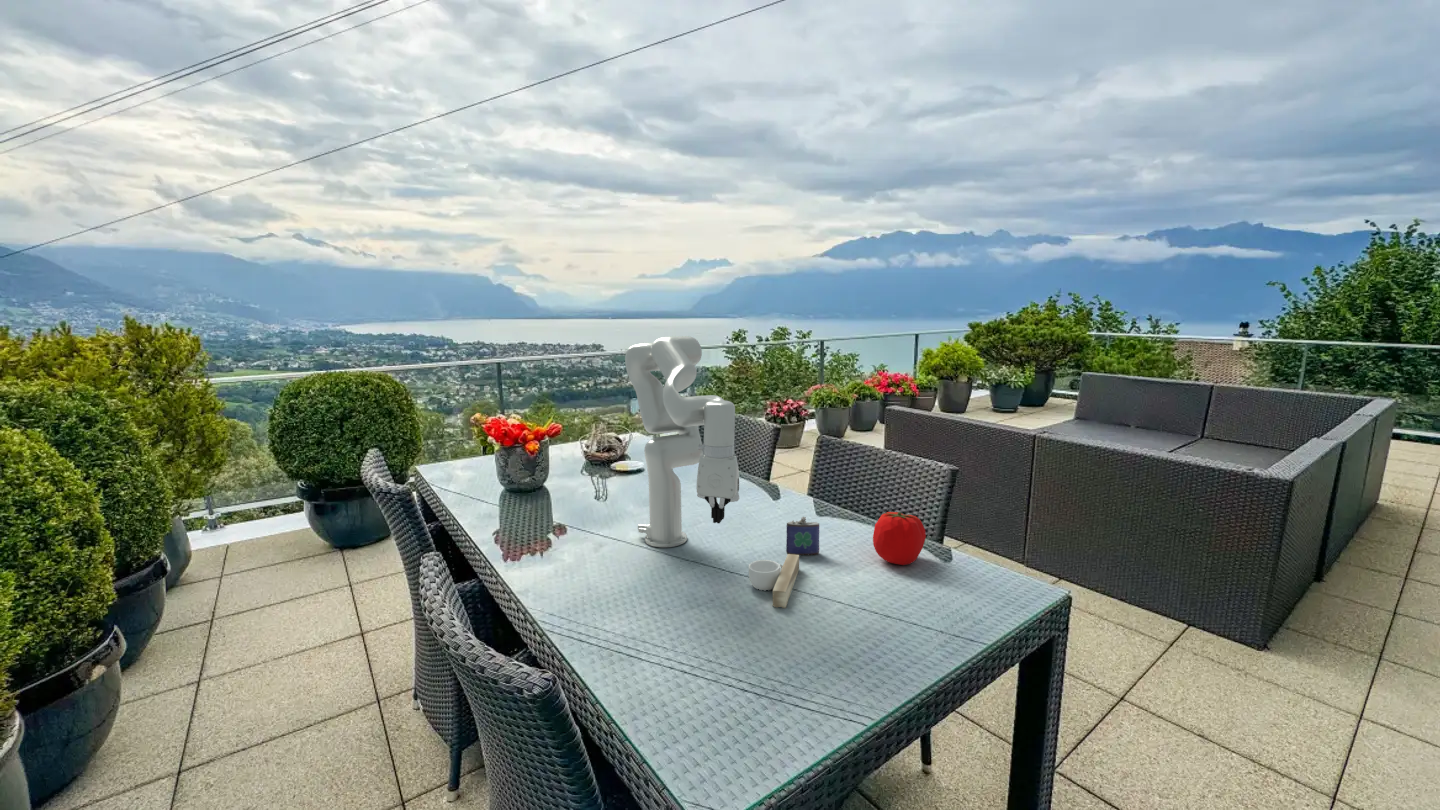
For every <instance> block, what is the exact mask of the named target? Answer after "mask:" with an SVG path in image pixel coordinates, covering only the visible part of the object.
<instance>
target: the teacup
mask: <svg viewBox="0 0 1440 810" xmlns="http://www.w3.org/2000/svg"><path fill="white" fill-rule="evenodd" d="M782 567H783V564H780V563H778V562H777V561H774V560H770V559H760V560H759V559H758V560H754V561H752V562H750V563H749V564H748V578H749V582H750V584H751V586H752V587H753V588H755V589H756V590H758V589H759V590H758V591H762V590H764V591H763V592H767V591H766V590H768V591H772V590H773V588H774V586H775V584H776V581H777V579H778V576H779V574H780V572H781V569H782Z"/></svg>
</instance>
